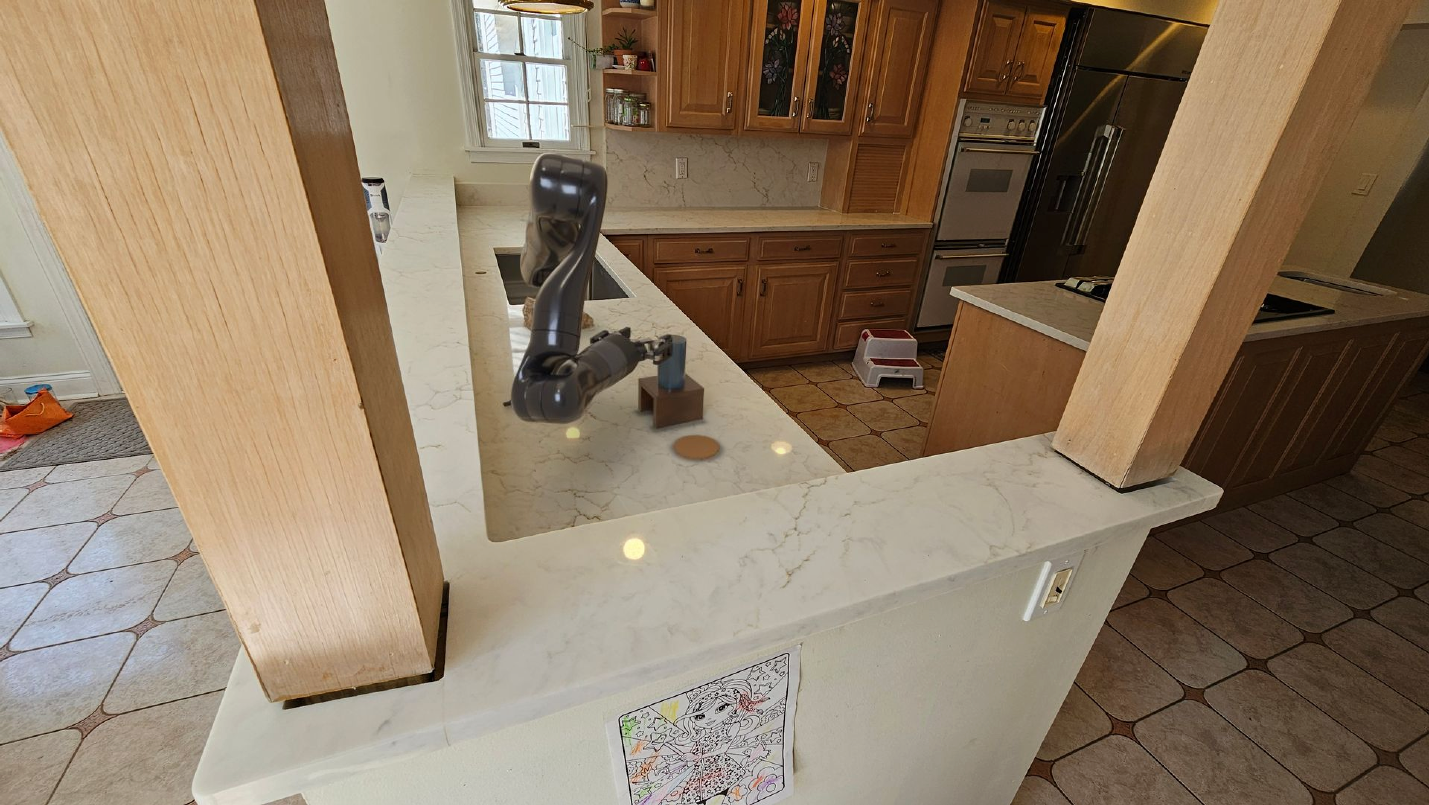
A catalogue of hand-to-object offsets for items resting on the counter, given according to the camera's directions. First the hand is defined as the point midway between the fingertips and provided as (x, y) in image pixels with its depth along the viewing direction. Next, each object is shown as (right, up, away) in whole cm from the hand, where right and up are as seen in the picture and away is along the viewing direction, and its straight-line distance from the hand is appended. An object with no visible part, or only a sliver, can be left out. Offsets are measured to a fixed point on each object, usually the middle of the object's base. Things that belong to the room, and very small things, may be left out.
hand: (649, 335), depth 115 cm
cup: (+3, -9, +15) cm, 18 cm away
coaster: (+9, -22, +6) cm, 24 cm away
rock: (-33, +7, +65) cm, 73 cm away
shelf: (+3, -16, +19) cm, 25 cm away
